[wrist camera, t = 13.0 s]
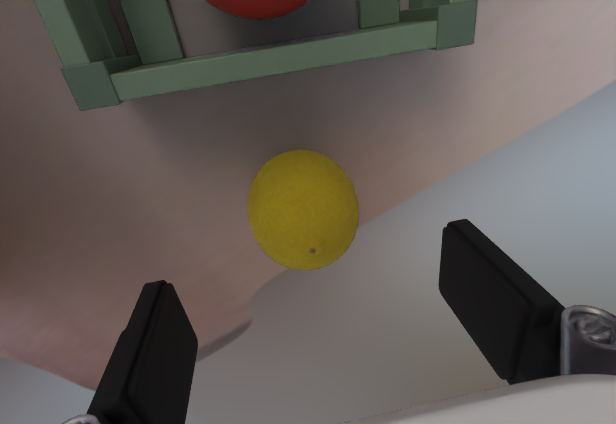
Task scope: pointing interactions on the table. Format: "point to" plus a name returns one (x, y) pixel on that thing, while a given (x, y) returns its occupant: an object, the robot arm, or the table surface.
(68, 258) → the table surface
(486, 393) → the robot arm
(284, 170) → the lemon
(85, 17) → the crate
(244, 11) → the apple
